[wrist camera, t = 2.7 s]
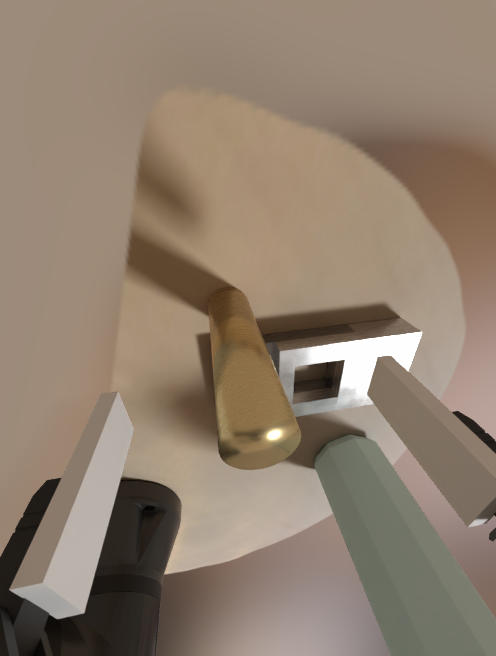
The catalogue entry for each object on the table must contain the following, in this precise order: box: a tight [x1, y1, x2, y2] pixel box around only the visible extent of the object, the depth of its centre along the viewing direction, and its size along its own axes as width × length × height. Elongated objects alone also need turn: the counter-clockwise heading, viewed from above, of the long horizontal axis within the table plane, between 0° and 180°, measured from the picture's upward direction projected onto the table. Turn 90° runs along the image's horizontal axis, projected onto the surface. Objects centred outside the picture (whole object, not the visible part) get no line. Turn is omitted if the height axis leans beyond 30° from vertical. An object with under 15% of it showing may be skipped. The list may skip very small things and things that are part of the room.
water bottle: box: [314, 435, 496, 656], centre depth 27 cm, size 10×10×25 cm
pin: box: [208, 287, 301, 470], centre depth 17 cm, size 4×4×14 cm
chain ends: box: [262, 318, 422, 417], centre depth 26 cm, size 20×9×4 cm, turn 93°
